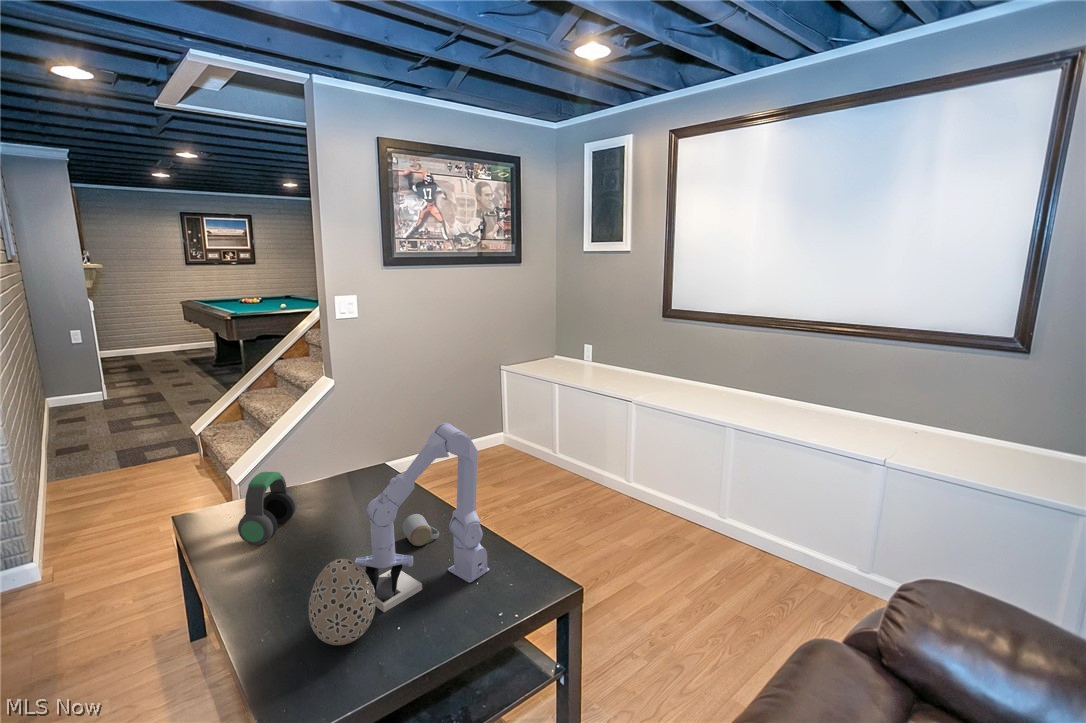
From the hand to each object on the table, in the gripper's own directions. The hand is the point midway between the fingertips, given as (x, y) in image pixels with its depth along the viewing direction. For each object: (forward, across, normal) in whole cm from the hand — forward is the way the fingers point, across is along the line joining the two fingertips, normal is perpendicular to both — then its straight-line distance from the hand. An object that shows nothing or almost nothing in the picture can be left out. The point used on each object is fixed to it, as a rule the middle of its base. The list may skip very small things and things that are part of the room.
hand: (386, 590), depth 138 cm
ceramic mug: (+3, -5, -29) cm, 30 cm away
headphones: (+3, +45, -37) cm, 59 cm away
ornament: (+3, +7, +14) cm, 15 cm away
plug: (+2, 0, 0) cm, 2 cm away
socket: (+3, 0, -3) cm, 4 cm away
